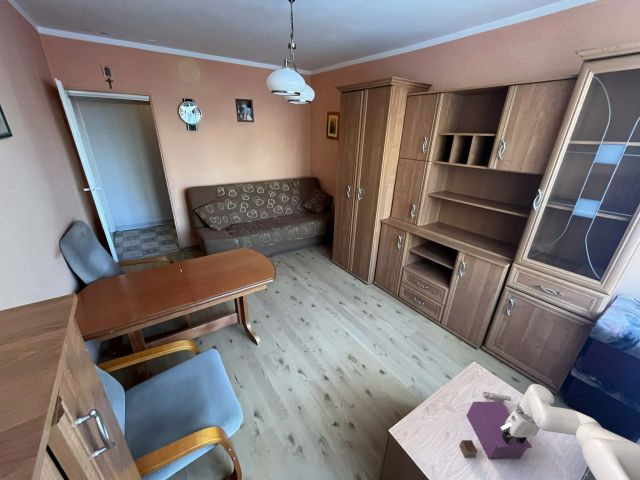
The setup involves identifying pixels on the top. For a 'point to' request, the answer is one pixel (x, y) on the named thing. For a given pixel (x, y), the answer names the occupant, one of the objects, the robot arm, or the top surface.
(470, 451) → the block
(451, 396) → the top surface
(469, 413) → the file box
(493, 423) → the file box lid
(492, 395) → the tablet stand
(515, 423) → the robot arm
